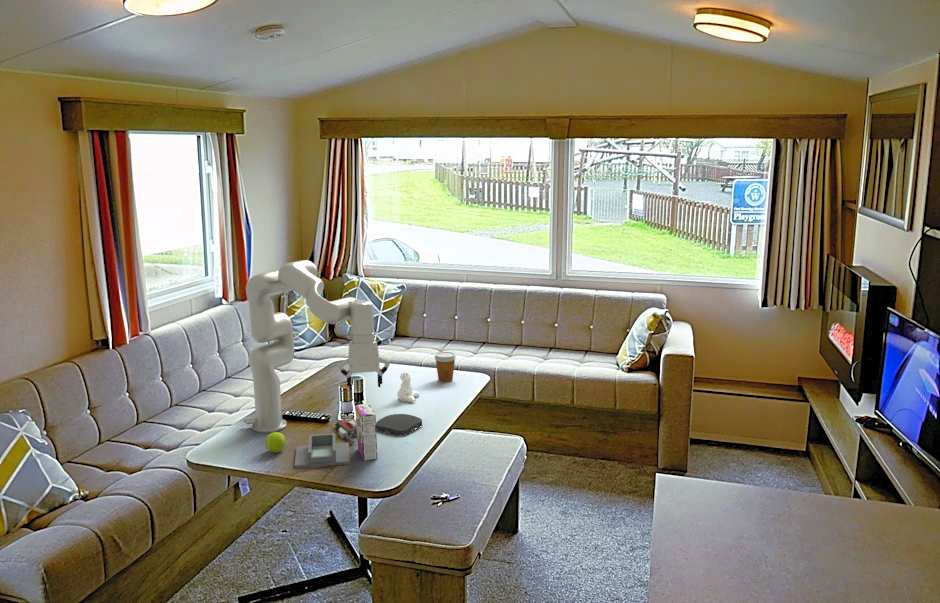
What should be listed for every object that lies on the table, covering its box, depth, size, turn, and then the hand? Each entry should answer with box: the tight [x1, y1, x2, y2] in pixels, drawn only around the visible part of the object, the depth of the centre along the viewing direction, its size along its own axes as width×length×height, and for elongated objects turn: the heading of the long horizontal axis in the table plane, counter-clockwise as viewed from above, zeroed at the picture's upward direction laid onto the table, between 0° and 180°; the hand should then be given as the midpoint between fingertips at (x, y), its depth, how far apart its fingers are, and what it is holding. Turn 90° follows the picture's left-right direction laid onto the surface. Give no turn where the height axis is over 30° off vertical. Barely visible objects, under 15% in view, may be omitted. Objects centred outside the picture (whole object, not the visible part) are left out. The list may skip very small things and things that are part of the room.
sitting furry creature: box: [396, 371, 420, 404], centre depth 315 cm, size 10×9×12 cm
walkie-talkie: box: [335, 417, 357, 444], centre depth 279 cm, size 9×4×20 cm
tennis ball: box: [264, 431, 287, 453], centre depth 264 cm, size 7×7×7 cm
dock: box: [294, 433, 351, 469], centre depth 260 cm, size 18×16×5 cm
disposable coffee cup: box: [434, 351, 457, 383], centre depth 339 cm, size 10×10×12 cm
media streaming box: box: [376, 413, 423, 436], centre depth 286 cm, size 15×15×3 cm
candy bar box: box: [355, 403, 378, 462], centre depth 260 cm, size 11×5×16 cm, turn 20°
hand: (364, 387), depth 257 cm, fingers open, 9 cm apart
